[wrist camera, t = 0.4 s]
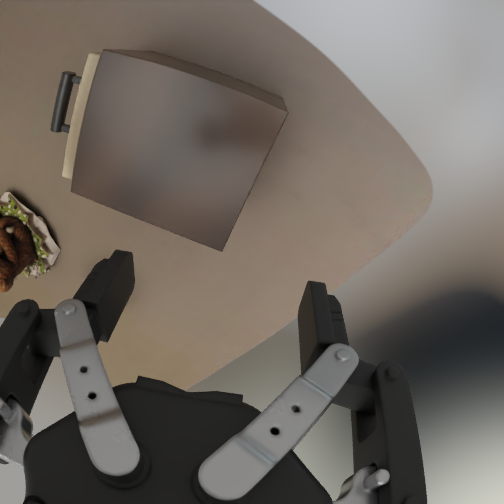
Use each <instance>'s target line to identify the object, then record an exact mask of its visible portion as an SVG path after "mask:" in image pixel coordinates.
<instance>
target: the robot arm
mask: <svg viewBox="0 0 504 504" xmlns="http://www.w3.org/2000/svg"><path fill="white" fill-rule="evenodd" d="M134 284H135V275H134V264H133V254H132V252H128V251H122V250H115V251H114V253H113V254H112V256H111V257H110V258H109V259H105V258H104V259H103V260H102V261H100V262H99V263H97V264H96V265H95V266H94V268H93V269H92V271H91V273H90V274H89V275H88V276H87V279H85V281H84V282H83V284H82V285H81V287H80V288H79V290H78V291H77V293H76V294H75V296H74V297H73V299H67V300H64V301H62V302H61V303H59V304H58V305H57V307H56V308H55V309H39V307H38V304H37V303H36V302H35V301H34V300H30V299H26V300H22V301H20V302H18V303H17V304H15V305H14V307H13V308H12V310H11V311H10V313H9V314H8V316H7V317H6V319H5V320H4V322H3V324H2V325H1V327H0V463H1V464H8V463H11V464H13V465H15V466H17V467H19V468H21V469H23V470H24V473H25V480H26V494H25V500H24V502H23V504H427V495H426V484H425V476H424V468H423V460H422V453H421V447H420V440H419V434H418V428H417V423H416V418H415V413H414V408H413V402H412V397H411V393H410V389H409V383H408V379H407V375H406V372H405V370H404V369H403V367H402V366H401V365H399V364H398V363H396V362H394V361H389V360H387V361H383V362H381V363H380V364H379V365H378V366H375V365H372V364H369V363H366V362H364V361H362V360H360V359H359V358H358V355H357V353H356V352H355V351H354V350H353V349H352V348H351V347H349V343H348V338H347V333H346V329H345V324H344V321H343V320H344V319H343V315H342V310H341V305H340V303H339V302H338V300H337V299H336V297H335V296H333V295H327V290H326V285H325V283H321V282H314V281H308V282H307V285H306V288H305V291H304V294H303V297H302V300H301V303H300V306H299V311H298V327H299V343H300V360H301V375H299V376H298V377H297V378H296V379H295V380H294V381H293V382H292V383H291V384H290V385H289V386H288V387H287V388H286V389H285V390H284V391H283V392H282V393H281V394H280V395H279V396H278V397H277V398H276V399H275V400H274V401H273V402H272V403H271V404H270V405H269V406H268V407H267V408H266V409H265V410H264V411H263V412H262V413H261V412H260V411H259V410H257V409H256V408H254V407H253V406H250V405H248V404H246V403H244V402H242V399H243V395H240V394H233V393H226V392H219V391H210V392H186V391H184V390H181V389H179V388H177V387H175V386H172V385H170V384H168V383H166V382H164V381H160V380H155V379H151V378H146V377H142V376H138V378H137V381H136V383H126V384H121V385H118V386H115V387H113V388H112V387H111V384H110V382H109V379H108V376H107V374H106V371H105V368H104V365H103V363H102V360H101V357H100V354H99V351H98V348H97V344H98V342H99V340H100V341H104V342H107V343H108V341H109V339H110V336H111V334H112V332H113V330H114V328H115V326H116V324H117V322H118V320H119V318H120V316H121V314H122V312H123V310H124V308H125V306H126V304H127V302H128V300H129V298H130V296H131V294H132V292H133V289H134ZM54 357H61V361H62V365H63V369H64V373H65V377H66V381H67V385H68V389H69V392H70V396H71V399H72V402H73V405H74V409H75V411H74V412H72V413H71V414H69V415H67V416H66V417H64V418H62V419H61V420H59V421H57V422H56V423H54V424H52V425H51V426H49V427H47V428H46V429H44V430H42V431H41V432H39V433H37V434H36V435H35V436H33V434H32V431H33V423H32V420H31V418H30V417H29V415H30V413H31V409H32V407H33V405H34V403H35V400H36V398H37V395H38V393H39V390H40V388H41V385H42V383H43V381H44V378H45V376H46V374H47V372H48V369H49V367H50V365H51V363H52V360H53V358H54ZM332 403H334V404H337V405H340V406H343V407H346V408H349V409H351V421H352V438H353V461H354V474H353V475H352V476H350V477H349V478H347V479H346V480H345V481H344V483H343V484H342V486H341V491H340V495H339V497H338V499H337V500H336V501H332V499H331V497H330V495H329V494H328V492H327V491H326V490H325V488H324V487H323V486H322V485H321V484H320V483H319V482H318V480H317V479H316V478H315V477H314V476H313V475H312V473H311V472H310V471H309V470H308V469H307V468H306V466H305V465H304V464H303V463H302V461H301V460H300V459H299V458H298V457H297V455H296V454H295V453H294V452H293V450H294V449H295V447H296V446H297V445H298V444H299V443H300V442H301V440H302V439H303V438H304V437H305V436H306V435H307V433H308V432H309V431H310V429H311V428H312V427H313V426H314V425H315V424H316V422H317V421H318V420H319V419H320V417H321V416H322V415H323V414H324V412H325V411H326V410H327V409H328V407H329V406H330V405H331V404H332ZM32 436H33V437H32Z"/></svg>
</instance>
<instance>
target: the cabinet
mask: <svg viewBox="0 0 504 504" xmlns="http://www.w3.org/2000/svg"><path fill="white" fill-rule="evenodd" d="M287 115H288V110H287V108H286V105H285V103H284V100H283V98H281V97H279V96H277V95H274V94H272V93H270V92H267V91H265V90H263V89H260V88H258V87H256V86H253V85H251V84H248V83H246V82H243V81H241V80H238V79H235V78H233V77H230V76H228V75H225V74H222V73H219V72H217V71H214V70H211V69H208V68H205V67H202V66H199V65H196V64H193V63H190V62H187V61H184V60H181V59H177V58H174V57H171V56H167V55H164V54H160V53H157V52H153V51H140V50H112V49H109V50H108V49H104V50H103V51H102V54H101V57H100V60H99V63H98V66H97V70H96V73H95V76H94V80H93V83H92V87H91V91H90V94H89V98H88V102H87V106H86V110H85V114H84V119H83V123H82V128H81V133H80V137H79V143H78V148H77V153H76V159H75V165H74V172H73V178H72V186H71V192H73V193H75V194H78V195H80V196H82V197H85V198H87V199H90V200H92V201H95V202H97V203H100V204H102V205H105V206H107V207H110V208H112V209H115V210H117V211H120V212H122V213H125V214H127V215H130V216H132V217H135V218H137V219H140V220H142V221H145V222H147V223H150V224H152V225H155V226H157V227H160V228H162V229H165V230H168V231H170V232H173V233H175V234H178V235H180V236H183V237H185V238H188V239H190V240H193V241H195V242H198V243H201V244H203V245H206V246H208V247H211V248H213V249H216V250H218V251H221V252H222V251H223V249H224V247H225V244H226V242H227V240H228V238H229V236H230V234H231V231H232V229H233V227H234V225H235V223H236V221H237V219H238V216H239V214H240V212H241V210H242V208H243V206H244V204H245V202H246V199H247V197H248V195H249V193H250V191H251V189H252V187H253V185H254V183H255V181H256V178H257V176H258V174H259V172H260V170H261V168H262V166H263V164H264V162H265V160H266V158H267V156H268V154H269V152H270V150H271V147H272V145H273V143H274V141H275V139H276V137H277V135H278V133H279V131H280V129H281V127H282V125H283V123H284V121H285V119H286V117H287Z"/></svg>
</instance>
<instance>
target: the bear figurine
mask: <svg viewBox="0 0 504 504" xmlns="http://www.w3.org/2000/svg"><path fill="white" fill-rule="evenodd" d="M44 222H45V221H44ZM44 222H43V219H42V217H40V216H38V217H37V216H35V214H34V213H33V212H32V211H30V210H29V209H27V208H26V207H25V206H24V205H23V204H21V203H20V202H19V201H18V200H17V199H16V198H15V197H14V196H13V195H12V194H11V193H10V192H5V193H4V195H3V196H2V197H1V199H0V292H7V291H8V290H10V289H11V287H12V285H13V281H14V278H15V277H16V276H17V275H19V274H20V273H21V272H23V273H24V274H25V275H26V276H27V277H29V274H33V275H35V277H36V279H37V277H38V276H39V275H40V273H43V274H44V273H47V272H48V271H49V270H51V269H50V268H51V266H52V265H53V263H54V262H55V260H56V258H57V256H58V254H59V253H60V251H61V250H60V249H59V247H58V246H57V245H56V243H55V242H54V240H53V239H52V238H51V236H50V234H49V232H48V229H47V226H46V224H44ZM45 268H46V270H45Z"/></svg>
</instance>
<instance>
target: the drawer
mask: <svg viewBox="0 0 504 504" xmlns="http://www.w3.org/2000/svg"><path fill="white" fill-rule="evenodd" d="M101 54H102V52H98V53H89V55H88V58H87V61H86V64H85V68H84V71H83V75H82V77H79V76H76V73H74V72H69V71H65V72H63V73H62V76H61V80H60V85H59V89H58V93H57V98H56V102H55V107H54V112H53V118H52V123H51V131H53V132H62V131H64V132H67V133H69V135H68V141H67V146H66V153H65V159H64V166H63V173H62V176H63V177H65V178H68V179H70V180H72V178H73V172H74V165H75V159H76V153H77V148H78V143H79V137H80V133H81V128H82V123H83V119H84V114H85V110H86V106H87V102H88V98H89V94H90V91H91V87H92V83H93V80H94V76H95V73H96V70H97V66H98V63H99V60H100V57H101ZM73 83H77V84H80V86H79V90H78V94H77V98H76V102H75V106H74V111H73V115H72V120H71V125H67V124H64V123H65V118H66V113H67V109H68V104H69V100H70V95H71V91H72V87H73Z"/></svg>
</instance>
